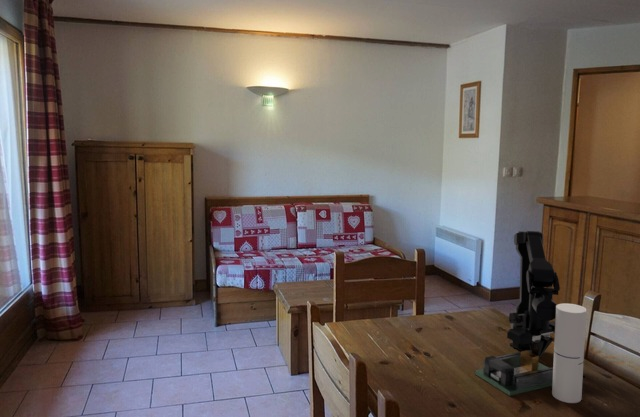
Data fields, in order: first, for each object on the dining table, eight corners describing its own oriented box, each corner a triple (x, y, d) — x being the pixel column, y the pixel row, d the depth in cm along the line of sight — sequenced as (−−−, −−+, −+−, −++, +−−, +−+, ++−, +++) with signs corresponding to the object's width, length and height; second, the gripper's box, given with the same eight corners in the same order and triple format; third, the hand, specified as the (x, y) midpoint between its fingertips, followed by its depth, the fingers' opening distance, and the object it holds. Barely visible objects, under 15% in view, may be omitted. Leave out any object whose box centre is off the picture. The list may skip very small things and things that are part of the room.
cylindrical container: (546, 389, 136) (550, 304, 132) (571, 388, 136) (575, 302, 133) (561, 403, 129) (566, 313, 125) (587, 401, 129) (592, 312, 126)
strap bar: (526, 367, 147) (527, 350, 146) (537, 373, 143) (538, 356, 142) (489, 375, 141) (490, 357, 141) (500, 382, 137) (501, 363, 137)
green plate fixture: (530, 362, 154) (531, 343, 153) (568, 381, 141) (569, 361, 140) (474, 374, 146) (475, 354, 145) (509, 395, 133) (510, 374, 132)
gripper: (541, 298, 154) (538, 345, 156) (494, 305, 147) (492, 354, 149) (571, 308, 144) (567, 359, 146) (523, 316, 137) (520, 369, 138)
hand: (536, 360), depth 145 cm, fingers closed
